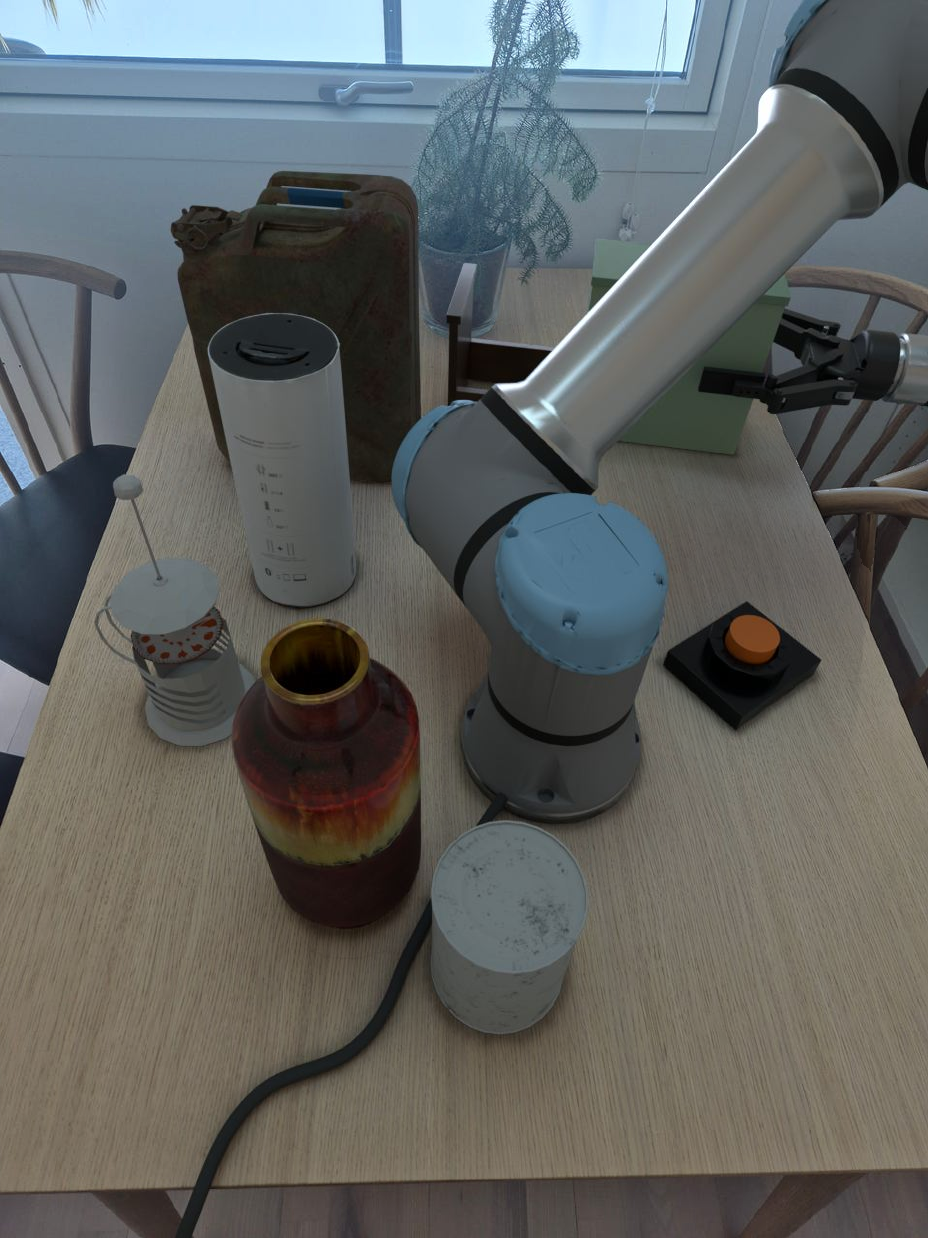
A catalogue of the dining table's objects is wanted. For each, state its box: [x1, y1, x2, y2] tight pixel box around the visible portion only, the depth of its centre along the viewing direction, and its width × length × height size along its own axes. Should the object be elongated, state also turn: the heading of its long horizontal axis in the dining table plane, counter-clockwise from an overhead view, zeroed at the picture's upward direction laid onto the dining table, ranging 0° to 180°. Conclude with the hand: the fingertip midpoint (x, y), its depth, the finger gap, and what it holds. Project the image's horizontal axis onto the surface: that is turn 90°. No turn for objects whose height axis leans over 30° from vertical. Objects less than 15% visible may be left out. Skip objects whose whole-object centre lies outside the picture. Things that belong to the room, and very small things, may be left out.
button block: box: [662, 600, 823, 731], centre depth 76 cm, size 11×9×4 cm
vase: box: [230, 618, 422, 930], centre depth 53 cm, size 11×11×26 cm
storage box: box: [585, 237, 792, 456], centre depth 96 cm, size 20×9×20 cm, turn 81°
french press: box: [94, 473, 256, 747], centre depth 64 cm, size 10×12×25 cm
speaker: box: [208, 313, 357, 608], centre depth 74 cm, size 11×10×26 cm
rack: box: [445, 262, 556, 406], centre depth 99 cm, size 14×13×15 cm
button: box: [725, 615, 780, 664], centre depth 74 cm, size 4×4×2 cm
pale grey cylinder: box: [430, 819, 589, 1036], centre depth 54 cm, size 10×10×12 cm
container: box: [170, 170, 422, 484], centre depth 86 cm, size 23×10×30 cm, turn 85°
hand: (698, 346), depth 95 cm, fingers open, 13 cm apart
